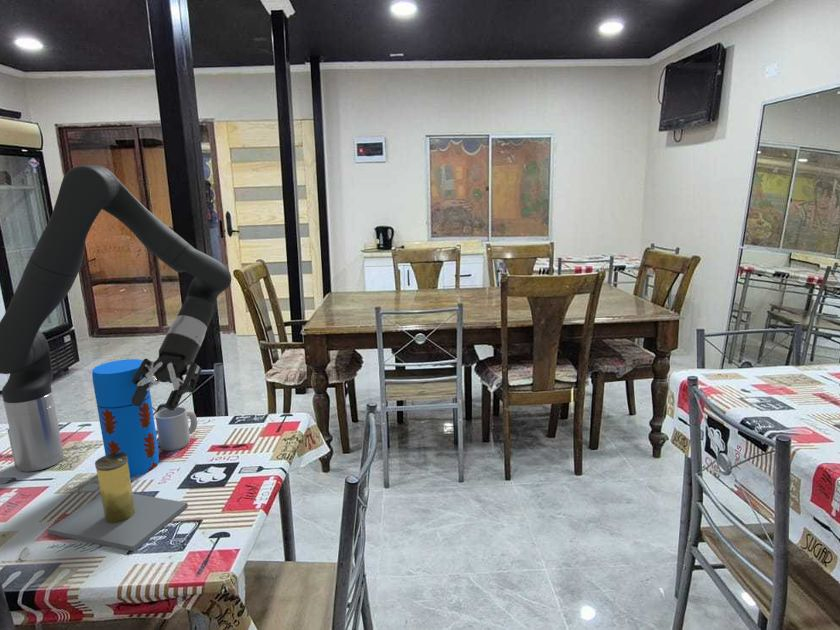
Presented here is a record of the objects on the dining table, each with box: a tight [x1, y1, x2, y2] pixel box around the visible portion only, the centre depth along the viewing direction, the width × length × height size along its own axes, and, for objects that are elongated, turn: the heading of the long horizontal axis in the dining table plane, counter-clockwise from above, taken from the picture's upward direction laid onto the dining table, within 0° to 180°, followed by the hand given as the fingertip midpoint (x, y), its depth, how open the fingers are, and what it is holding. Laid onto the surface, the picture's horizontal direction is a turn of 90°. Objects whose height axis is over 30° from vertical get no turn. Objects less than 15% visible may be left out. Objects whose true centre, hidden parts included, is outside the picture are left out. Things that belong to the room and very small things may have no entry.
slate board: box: [47, 493, 189, 552], centre depth 102 cm, size 20×14×1 cm
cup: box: [154, 406, 198, 452], centre depth 134 cm, size 7×10×9 cm
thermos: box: [91, 358, 160, 478], centre depth 120 cm, size 11×11×25 cm
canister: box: [94, 453, 135, 523], centre depth 101 cm, size 5×5×12 cm
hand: (152, 407), depth 109 cm, fingers open, 8 cm apart
